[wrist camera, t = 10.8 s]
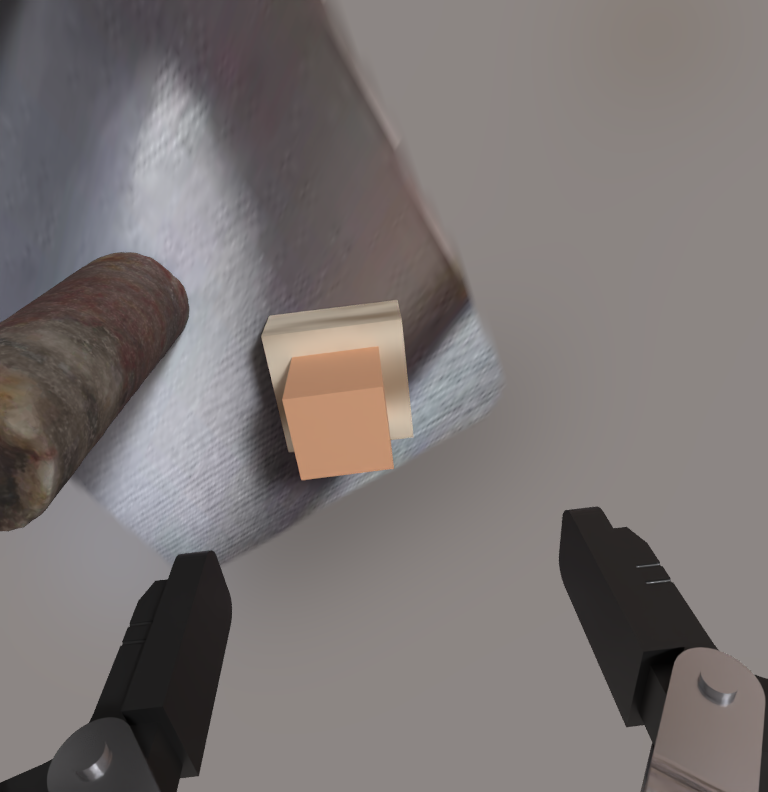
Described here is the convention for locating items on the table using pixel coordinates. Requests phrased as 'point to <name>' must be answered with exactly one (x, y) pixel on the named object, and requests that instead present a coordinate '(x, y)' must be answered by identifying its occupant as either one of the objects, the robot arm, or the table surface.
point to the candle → (77, 371)
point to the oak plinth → (340, 334)
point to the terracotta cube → (338, 413)
